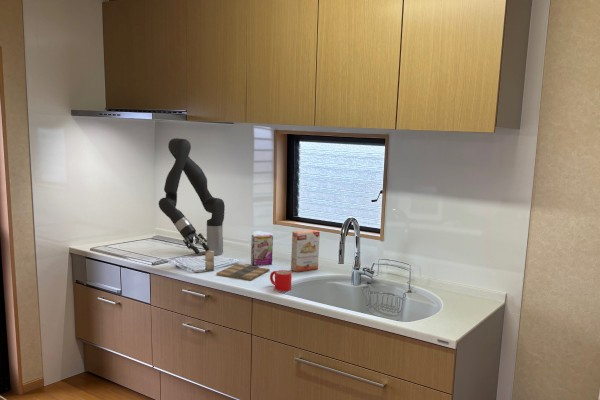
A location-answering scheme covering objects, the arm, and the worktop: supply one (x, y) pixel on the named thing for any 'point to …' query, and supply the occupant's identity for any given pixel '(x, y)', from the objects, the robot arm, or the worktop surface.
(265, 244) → the candy bar box
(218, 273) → the oak board
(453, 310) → the worktop surface
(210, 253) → the tan tall block
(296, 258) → the cracker box
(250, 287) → the worktop surface
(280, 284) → the mug
